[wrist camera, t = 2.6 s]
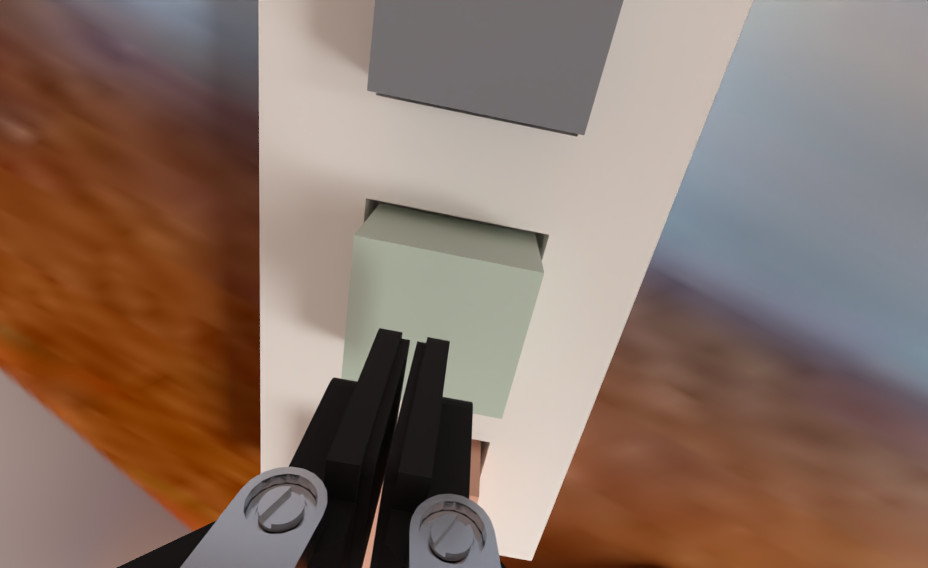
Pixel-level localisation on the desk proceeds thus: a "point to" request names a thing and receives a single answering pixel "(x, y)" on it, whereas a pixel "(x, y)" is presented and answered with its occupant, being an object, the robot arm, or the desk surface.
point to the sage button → (444, 297)
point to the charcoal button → (495, 56)
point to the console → (474, 217)
